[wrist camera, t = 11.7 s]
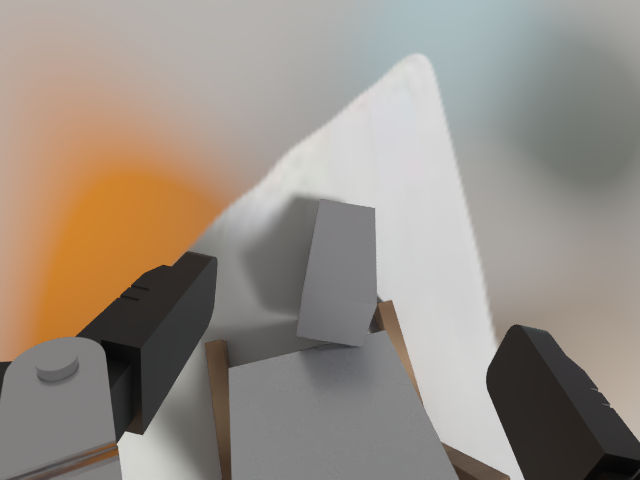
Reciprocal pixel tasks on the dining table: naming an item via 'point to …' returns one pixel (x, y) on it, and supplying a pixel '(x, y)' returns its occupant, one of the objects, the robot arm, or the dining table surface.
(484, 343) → the dining table surface
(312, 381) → the trapdoor plate
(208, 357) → the brown wooden frame
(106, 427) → the robot arm
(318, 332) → the basalt block
